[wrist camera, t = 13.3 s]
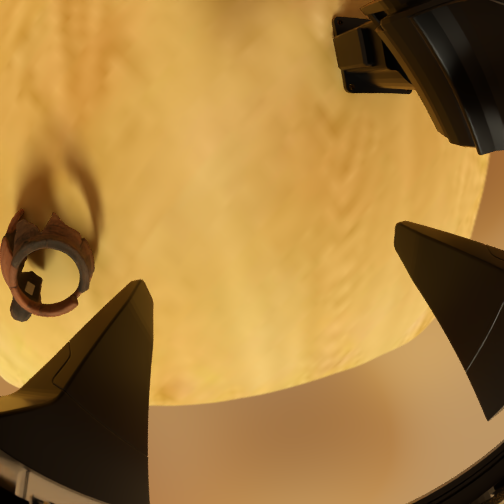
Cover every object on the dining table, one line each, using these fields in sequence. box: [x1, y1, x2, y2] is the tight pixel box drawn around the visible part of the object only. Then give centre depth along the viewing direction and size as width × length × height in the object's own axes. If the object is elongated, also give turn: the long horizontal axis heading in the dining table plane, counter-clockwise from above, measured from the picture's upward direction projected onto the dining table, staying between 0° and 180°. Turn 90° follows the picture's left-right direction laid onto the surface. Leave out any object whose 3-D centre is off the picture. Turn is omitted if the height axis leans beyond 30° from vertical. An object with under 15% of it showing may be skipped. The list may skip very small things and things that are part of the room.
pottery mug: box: [0, 209, 95, 322], centre depth 19 cm, size 12×10×8 cm
